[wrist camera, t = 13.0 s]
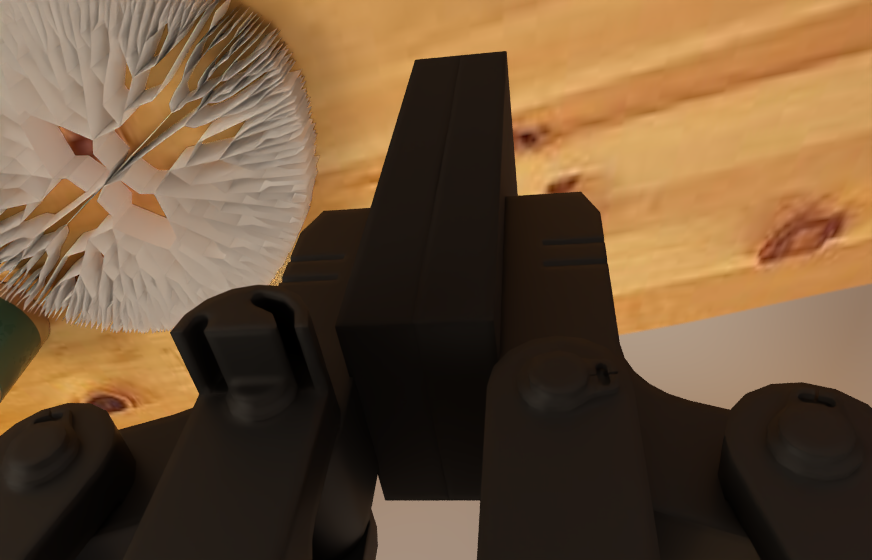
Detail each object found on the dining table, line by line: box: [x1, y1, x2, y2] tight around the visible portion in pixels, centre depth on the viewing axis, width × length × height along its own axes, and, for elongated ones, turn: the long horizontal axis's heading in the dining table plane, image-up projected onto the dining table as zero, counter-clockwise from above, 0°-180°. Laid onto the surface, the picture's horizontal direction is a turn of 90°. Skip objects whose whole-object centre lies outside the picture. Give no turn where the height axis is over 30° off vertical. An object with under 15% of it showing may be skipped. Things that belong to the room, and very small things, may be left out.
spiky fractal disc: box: [0, 0, 320, 334], centre depth 44 cm, size 22×28×3 cm
